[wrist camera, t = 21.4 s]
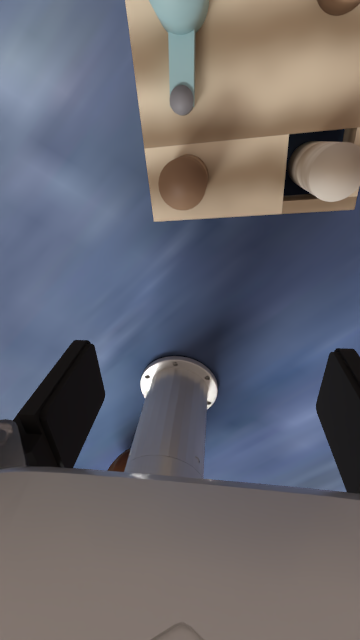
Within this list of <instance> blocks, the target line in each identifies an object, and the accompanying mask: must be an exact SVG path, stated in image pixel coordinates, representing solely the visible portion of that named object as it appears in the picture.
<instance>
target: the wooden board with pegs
mask: <svg viewBox="0 0 360 640" xmlns="http://www.w3.org/2000/svg"><path fill="white" fill-rule="evenodd" d="M125 2H126V10H127V18H128V26H129V33H130V41H131V49H132V56H133V64H134V72H135V79H136V87H137V95H138V102H139V110H140V118H141V126H142V133H143V141H144V149H145V156H146V164H147V172H148V179H149V187H150V195H151V203H152V210H153V218H154V222H157V221H174V220H190V219H207V218H223V217H240V216H256V215H273V214H289V213H306V212H323V211H339V210H354V208H355V204H356V199H357V195H358V190H359V187H358V189H357V190H356V191H355V192H354V193H352V194H351V195H350V196H348V197H347V198H345V199H342V200H340V201H335V202H326V201H323V200H320V199H319V198H317V197H316V196H314V195H312V194H301V195H286V196H283V194H284V183H285V173H286V162H287V152H288V141H289V134H297V133H307V132H317V131H327V130H337V129H345V130H344V136H343V142H349V143H353V144H356V145H358V146H359V147H360V0H209V7H208V12H207V16H206V19H205V21H204V23H203V25H202V26H201V28H200V29H199V30H198V31H197V32H196V33H195V103H194V107H193V109H192V111H191V112H190V113H189V114H187V115H185V116H181V115H178V114H176V113H175V112H174V111H173V110H172V108H171V107H170V85H169V44H168V32H167V31H166V30H165V29H164V27H163V26H162V24H161V22H160V20H159V18H158V17H157V15H156V13H155V11H154V9H153V7H152V5H151V4H150V2H149V0H125Z"/></svg>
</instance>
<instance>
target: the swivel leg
mask: <svg viewBox="0 0 360 640" xmlns="http://www.w3.org/2000/svg"><path fill="white" fill-rule="evenodd" d="M149 2H150V4H151V5H152V7H153V9H154V11H155V13H156V15H157V17H158V18H159V20H160V22H161V24H162V26H163V27H164V29H165V30H166V31H167V32H168V44H169V85H170V107H171V108H172V110H173V111H174V112H175V113H176V114H178V115H181V116H185V115H187V114H189V113H190V112H191V111H192V109H193V107H194V103H195V33H196V32H197V31H198V30H199V29H200V28H201V26H202V25H203V23H204V21H205V19H206V16H207V12H208V7H209V0H149Z"/></svg>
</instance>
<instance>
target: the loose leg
mask: <svg viewBox="0 0 360 640" xmlns="http://www.w3.org/2000/svg"><path fill="white" fill-rule="evenodd" d="M288 174H289V177H290V179H291V180H292V181H293V182H294V183H295V184H297V185H299V186H300V187H302V188H303V189H305V190H306V191H308V192H309V193H311V194H312V195H314V196H316V197H317V198H319V199H320V200H323V201H326V202H335V201H340V200H342V199H345V198H347V197H348V196H350V195H351V194H352V193H354V192H355V191H356V190H357V189H358V187H359V186H360V147H359V146H358V145H356V144H353V143H349V142H327V141H309V142H305V143H303V144H301V145H300V146H299V147H297V148H296V149H295V150H294V152H293V153H292V155H291V156H290V159H289V162H288Z"/></svg>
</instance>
